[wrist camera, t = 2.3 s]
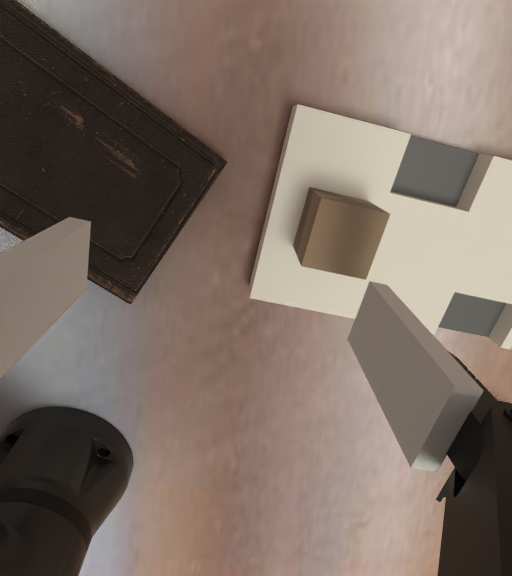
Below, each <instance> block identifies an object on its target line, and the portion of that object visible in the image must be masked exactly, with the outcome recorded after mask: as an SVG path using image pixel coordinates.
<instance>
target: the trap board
mask: <svg viewBox="0 0 512 576" xmlns="http://www.w3.org/2000/svg"><path fill="white" fill-rule="evenodd" d="M309 187H312V188H316V189H320V190H324V191H328V192H333V193H337V194H341V195H345V196H349V197H354V198H358V199H362V200H366V201H369V202H371V203H373V204H374V205H376V206H378V207H379V208H381V209H383V210H384V211H386V212H388V213H389V214H390V217H389V219H388V222H387V225H386V227H385V230H384V233H383V236H382V238H381V241H380V244H379V246H378V249H377V252H376V254H375V257H374V260H373V263H372V265H371V268H370V271H369V273H368V276H367V279H366V280H364V279H360V278H355V277H350V276H345V275H341V274H336V273H331V272H326V271H322V270H317V269H312V268H307V267H303V266H301V264H300V262H299V260H298V257H297V255H296V253H295V250H294V248H293V243H294V240H295V236H296V233H297V229H298V226H299V222H300V218H301V215H302V211H303V208H304V204H305V201H306V197H307V193H308V190H309ZM369 281H371V282H376V283H381V284H386V285H388V286H389V287H390V288H391V289H392V291H393V292H394V293H395V294H396V295H397V296H398V297H399V298H400V299H401V300H402V302H403V303H404V304H405V305H406V306H407V307H408V308H409V309H410V310H411V311H412V313H413V314H414V315H415V316H416V317H417V318H418V319H419V320H420V321H421V322H422V324H423V325H424V326H425V327H426V328H427V329H428V330H429V331H430V332H431V333H432V334H435V332H436V330H437V328H438V327H441V328H446V329H451V330H456V331H461V332H466V333H471V334H476V335H481V336H486V337H489V338H490V339H491V340H493V341H494V342H495V343H496V344H497V345H498V346H500V347H501V348H506V349H511V350H512V161H511V160H508V159H504V158H500V157H496V156H491V155H482V154H477V153H473V152H469V151H465V150H461V149H458V148H454V147H450V146H446V145H442V144H439V143H435V142H431V141H427V140H423V139H419V138H416V137H412V136H411V134H409V133H405V132H401V131H397V130H394V129H390V128H386V127H382V126H378V125H375V124H371V123H367V122H363V121H359V120H356V119H352V118H348V117H344V116H340V115H337V114H333V113H329V112H325V111H321V110H318V109H314V108H310V107H306V106H302V105H299V104H297V105H294V106H293V107H292V111H291V115H290V119H289V123H288V127H287V131H286V136H285V140H284V144H283V148H282V152H281V156H280V160H279V164H278V168H277V173H276V177H275V181H274V185H273V189H272V193H271V197H270V201H269V206H268V210H267V214H266V218H265V222H264V226H263V230H262V234H261V238H260V243H259V247H258V251H257V255H256V259H255V263H254V267H253V271H252V275H251V280H250V284H249V293H250V298H252V299H257V300H262V301H267V302H272V303H277V304H282V305H287V306H293V307H298V308H303V309H308V310H313V311H318V312H323V313H328V314H333V315H338V316H343V317H348V318H353V319H355V318H356V316H357V313H358V310H359V308H360V305H361V302H362V300H363V297H364V294H365V292H366V289H367V287H368V284H369Z"/></svg>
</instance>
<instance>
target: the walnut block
mask: <svg viewBox="0 0 512 576" xmlns="http://www.w3.org/2000/svg"><path fill="white" fill-rule="evenodd" d="M389 217H390V214H389V213H388V212H386V211H384V210H383V209H381V208H379V207H378V206H376V205H374V204H373V203H371V202H369V201H366V200H362V199H358V198H354V197H349V196H345V195H341V194H337V193H333V192H328V191H324V190H320V189H316V188H312V187H309V190H308V193H307V197H306V201H305V204H304V208H303V211H302V215H301V218H300V222H299V226H298V229H297V233H296V236H295V240H294V243H293V248H294V250H295V253H296V255H297V257H298V260H299V262H300V264H301V266H303V267H307V268H312V269H317V270H322V271H326V272H331V273H336V274H341V275H345V276H350V277H355V278H360V279H364V280H366V279H367V276H368V273H369V271H370V268H371V265H372V263H373V260H374V257H375V254H376V252H377V249H378V246H379V244H380V241H381V238H382V236H383V233H384V230H385V227H386V225H387V222H388V219H389Z"/></svg>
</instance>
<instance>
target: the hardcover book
mask: <svg viewBox="0 0 512 576" xmlns="http://www.w3.org/2000/svg"><path fill="white" fill-rule="evenodd" d="M226 164H227V161H226V160H224V159H223V158H222V157H220V156H219V155H218V154H216V153H215V152H214V151H212V150H211V149H210V148H208V147H207V146H206V145H205V144H203V143H202V142H201V141H199V140H198V139H197V138H195V137H194V136H193V135H191V134H190V133H189V132H188V131H186V130H185V129H184V128H182V127H181V126H180V125H178V124H177V123H176V122H174V121H173V120H172V119H170V118H169V117H168V116H167V115H165V114H164V113H163V112H161V111H160V110H159V109H157V108H156V107H155V106H153V105H152V104H151V103H150V102H148V101H147V100H146V99H144V98H143V97H142V96H140V95H139V94H138V93H136V92H135V91H134V90H132V89H131V88H130V87H129V86H127V85H126V84H125V83H123V82H122V81H121V80H119V79H118V78H117V77H115V76H114V75H113V74H112V73H110V72H109V71H108V70H106V69H105V68H104V67H102V66H101V65H100V64H98V63H97V62H96V61H94V60H93V59H92V58H91V57H89V56H88V55H87V54H85V53H84V52H83V51H81V50H80V49H79V48H77V47H76V46H75V45H73V44H72V43H71V42H70V41H68V40H67V39H66V38H64V37H63V36H62V35H60V34H59V33H58V32H56V31H55V30H54V29H53V28H51V27H50V26H49V25H47V24H46V23H45V22H43V21H42V20H41V19H39V18H38V17H37V16H35V15H34V14H33V13H32V12H30V11H29V10H28V9H26V8H25V7H24V6H22V5H21V4H20V3H18V2H17V1H16V0H0V227H1V228H3V229H5V230H6V231H8V232H10V233H11V234H13V235H15V236H16V237H18V238H20V239H21V240H23V241H25V240H26V239H28V238H30V237H32V236H34V235H36V234H38V233H40V232H42V231H44V230H46V229H47V228H49V227H51V226H53V225H55V224H57V223H59V222H61V221H63V220H65V219H67V218H68V217H72V218H76V219H81V220H86V221H90V222H91V228H90V244H89V259H88V274H87V279H89V280H90V281H92V282H94V283H95V284H97V285H99V286H100V287H102V288H104V289H105V290H107V291H109V292H110V293H112V294H114V295H115V296H117V297H119V298H120V299H122V300H124V301H126V302H127V303H129V304H131V303H132V302H133V300H134V299H135V297H136V296H137V294H138V293H139V291H140V290H141V288H142V287H143V285H144V284H145V282H146V281H147V280H148V278H149V277H150V275H151V274H152V272H153V271H154V269H155V268H156V266H157V265H158V263H159V262H160V260H161V259H162V258H163V256H164V255H165V253H166V252H167V250H168V249H169V247H170V246H171V244H172V243H173V241H174V240H175V238H176V237H177V235H178V234H179V233H180V231H181V230H182V228H183V227H184V225H185V224H186V222H187V221H188V219H189V218H190V216H191V215H192V213H193V212H194V211H195V209H196V208H197V206H198V205H199V203H200V202H201V200H202V199H203V197H204V196H205V194H206V193H207V191H208V190H209V189H210V187H211V186H212V184H213V183H214V181H215V180H216V178H217V177H218V175H219V174H220V172H221V171H222V169H223V168H224V167H225V165H226Z"/></svg>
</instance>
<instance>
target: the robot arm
mask: <svg viewBox="0 0 512 576" xmlns="http://www.w3.org/2000/svg"><path fill="white" fill-rule="evenodd" d="M90 228H91V222H90V221H86V220H81V219H76V218H72V217H68V218H67V219H65V220H63V221H61V222H59V223H57V224H55V225H53V226H51V227H49V228H47V229H46V230H44V231H42V232H40V233H38V234H36V235H34V236H32V237H30V238H28V239H26V240H25V241H23V242H21V243H19V244H17V245H15V246H13V247H11V248H9V249H7V250H5V251H4V252H2V253H0V378H1V377H2V376H3V375H4V374H5V373H6V372H7V371H8V370H9V369H10V368H11V367H12V366H13V365H14V364H15V363H16V362H17V361H18V360H19V359H20V358H21V357H22V355H23V354H24V353H25V352H26V351H27V350H28V349H29V348H30V347H31V346H32V345H33V344H34V343H35V342H36V341H37V340H38V339H39V338H40V337H41V336H42V335H43V334H44V333H45V332H46V331H47V329H48V328H49V327H50V326H51V325H52V324H53V323H54V322H55V321H56V320H57V319H58V318H59V317H60V316H61V315H62V314H63V313H64V312H65V311H66V310H67V309H68V308H69V307H70V306H71V305H72V303H73V302H74V301H75V300H76V299H77V298H78V297H79V296H80V295H81V294H82V293H83V292H84V291H85V290H86V289H87V274H88V259H89V244H90ZM348 341H349V343H350V345H351V347H352V349H353V351H354V353H355V355H356V357H357V359H358V361H359V363H360V365H361V367H362V369H363V371H364V374H365V376H366V378H367V380H368V382H369V384H370V386H371V388H372V390H373V392H374V394H375V396H376V398H377V400H378V402H379V404H380V406H381V408H382V410H383V412H384V414H385V416H386V418H387V420H388V422H389V424H390V426H391V428H392V430H393V432H394V435H395V437H396V439H397V441H398V443H399V445H400V447H401V449H402V451H403V453H404V455H405V457H406V459H407V461H408V463H409V465H410V467H411V468H415V469H422V470H428V471H435V472H437V471H438V469H439V468H440V466H441V464H442V462H443V461H444V459H445V457H446V456H447V455H448V457H449V458H450V460H451V462H452V463H453V465H454V466H455V468H454V470H453V471H452V473H451V475H450V476H449V478H448V480H447V481H446V483H445V485H444V486H443V488H442V490H441V491H440V493H439V495H438V497H437V498H436V500H437V501H439V502H441V500H442V498H443V497H446V503H445V512H444V521H443V531H442V540H441V549H440V559H439V568H438V576H512V404H511V403H508V402H502V401H497V400H496V399H495V397H494V396H493V395H492V394H491V393H490V392H489V391H488V390H487V389H486V388H485V387H484V386H483V385H482V383H481V382H480V381H479V380H478V379H475V376H474V375H473V374H472V373H471V372H470V371H469V370H468V368H467V367H466V366H465V365H464V364H463V363H462V362H461V361H460V360H459V359H458V358H457V357H455V356H454V355H453V354H451V353H450V352H449V351H447V350H446V349H445V348H444V347H443V346H442V344H441V343H440V342H439V341H438V340H437V339H436V338H435V337H434V336H433V335H432V333H431V332H430V331H429V330H428V329H427V328H426V327H425V326H424V325H423V324H422V322H421V321H420V320H419V319H418V318H417V317H416V316H415V315H414V314H413V313H412V311H411V310H410V309H409V308H408V307H407V306H406V305H405V304H404V303H403V302H402V300H401V299H400V298H399V297H398V296H397V295H396V294H395V293H394V292H393V291H392V289H391V288H390V287H389V286H388V285H386V284H381V283H376V282H371V281H369V284H368V287H367V289H366V292H365V294H364V297H363V300H362V302H361V305H360V308H359V310H358V313H357V316H356V318H355V321H354V323H353V326H352V329H351V331H350V334H349V337H348ZM132 468H133V457H132V453H131V450H130V448H129V446H128V444H127V442H126V441H125V439H124V438H123V436H122V435H121V434H120V433H119V432H118V431H117V430H116V429H115V428H113V427H112V426H111V425H110V424H108V423H107V422H105V421H103V420H102V419H100V418H98V417H96V416H94V415H91V414H89V413H86V412H82V411H79V410H74V409H68V408H44V409H38V410H34V411H31V412H28V413H26V414H23V415H21V416H20V417H18V418H16V419H15V420H14V421H13V422H11V423H10V424H9V425H8V427H7V428H6V429H5V430H4V432H3V433H2V434H1V436H0V576H78V575H79V572H80V570H81V567H82V564H83V561H84V558H85V555H86V552H87V550H88V547H89V544H90V542H91V539H92V537H93V535H94V534H95V533H96V531H97V530H98V529H99V527H100V526H101V525H102V523H103V522H104V521H105V519H106V518H107V517H108V515H109V514H110V513H111V511H112V510H113V508H114V507H115V506H116V504H117V503H118V502H119V500H120V499H121V497H122V496H123V494H124V492H125V490H126V488H127V485H128V482H129V479H130V476H131V473H132Z"/></svg>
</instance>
